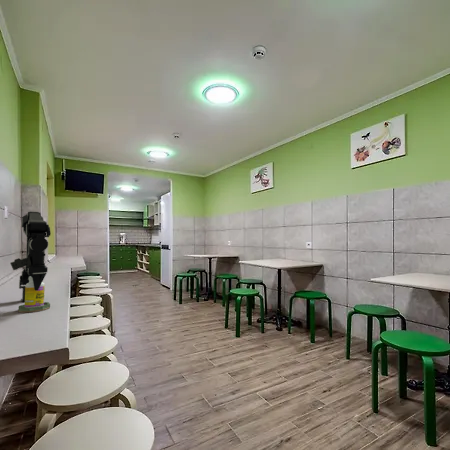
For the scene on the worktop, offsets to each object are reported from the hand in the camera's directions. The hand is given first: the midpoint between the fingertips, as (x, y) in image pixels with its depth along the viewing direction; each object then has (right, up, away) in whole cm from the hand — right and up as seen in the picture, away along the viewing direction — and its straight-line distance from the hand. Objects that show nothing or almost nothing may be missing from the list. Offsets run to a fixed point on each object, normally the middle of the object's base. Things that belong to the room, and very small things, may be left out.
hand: (35, 289), depth 113 cm
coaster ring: (0, -8, -1) cm, 8 cm away
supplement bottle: (0, -8, 0) cm, 8 cm away
